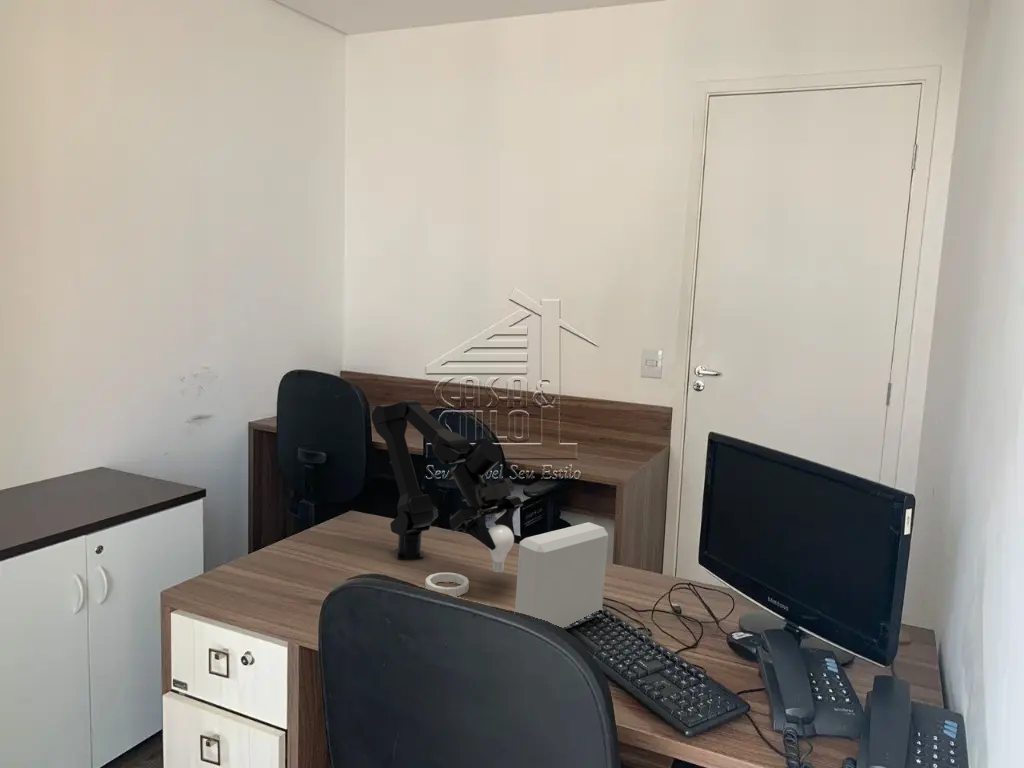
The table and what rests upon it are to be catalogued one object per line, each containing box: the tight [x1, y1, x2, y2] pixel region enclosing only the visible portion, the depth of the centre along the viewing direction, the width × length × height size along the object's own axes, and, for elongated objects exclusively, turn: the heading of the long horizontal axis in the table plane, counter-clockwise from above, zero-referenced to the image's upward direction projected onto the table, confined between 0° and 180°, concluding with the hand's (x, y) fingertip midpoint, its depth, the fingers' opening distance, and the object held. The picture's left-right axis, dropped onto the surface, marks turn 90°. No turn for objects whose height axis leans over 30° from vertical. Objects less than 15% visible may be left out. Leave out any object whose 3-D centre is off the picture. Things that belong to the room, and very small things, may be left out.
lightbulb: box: [487, 524, 515, 574], centre depth 168 cm, size 6×6×11 cm
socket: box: [424, 571, 470, 596], centre depth 170 cm, size 10×10×2 cm
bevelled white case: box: [514, 521, 609, 628], centre depth 154 cm, size 21×8×20 cm, turn 133°
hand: (504, 546), depth 167 cm, fingers closed on lightbulb, 6 cm apart
